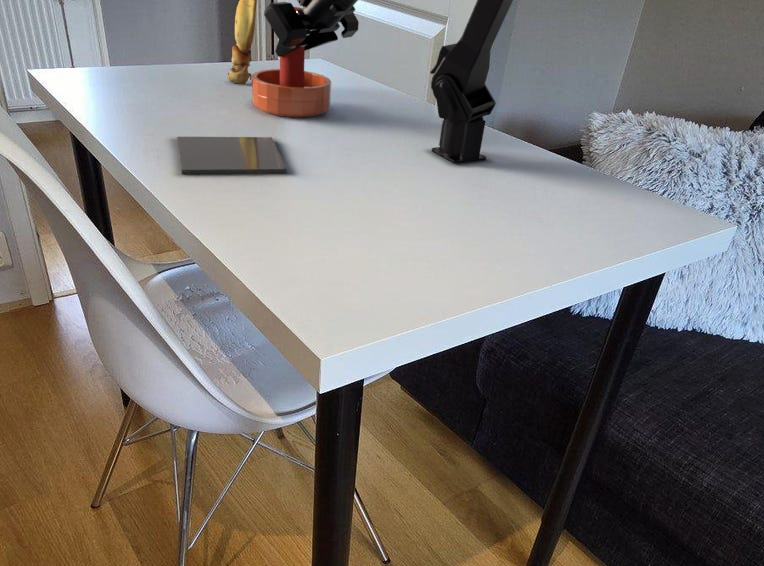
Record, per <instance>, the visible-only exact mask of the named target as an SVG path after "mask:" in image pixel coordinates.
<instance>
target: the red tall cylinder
mask: <svg viewBox="0 0 764 566" xmlns="http://www.w3.org/2000/svg"><path fill="white" fill-rule="evenodd" d="M293 7H294V9H295V10H296V11H297V10H303V9H304V8H303V7H297V6H293ZM305 52H306V51H305V46H304V47H302V48H299V49H297V50H295V51H292V52H290V53H288V54H285V55H283V56H281V57H279V69H280V86H287V87H304V71H305V56H306V55H305Z"/></svg>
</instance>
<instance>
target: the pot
mask: <svg viewBox="0 0 764 566" xmlns="http://www.w3.org/2000/svg"><path fill="white" fill-rule="evenodd" d="M251 76H252V77H251V98H252V100H251V101H252V104H253V106H255V107H256V108H257V109H259V110H261V111H263V112H265V113H267V114H271V115H274V116H280V117H288V118H311V117H317V116H320V115H322V114H325V112H328V111H329V110H330V108H331V99H332V97H331V94H332V81H331V79H330V78H329V77H327V76H325V75H323V74H320V73H316V72H314V71H313V72H312V71H307V70H304V87H287V86H280V68H269V69H262V70H259V71H256V72H254V73H253V74H251Z"/></svg>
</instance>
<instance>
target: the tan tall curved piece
mask: <svg viewBox="0 0 764 566" xmlns="http://www.w3.org/2000/svg"><path fill="white" fill-rule="evenodd" d="M257 3H258V0H239V1H238V4H237V6H236V10H235V18H234V39H235V42H236V44H233V45H232V48H231V52H232V54H231V55H232V57H230V59H231V63H232V67H231V68H229V70H230V71H229V72H227V75H228V76H227V79H228V81H229V83H234V84H238V85H245V84H246V83H247V82H248V80H249V81H252V73H250V72H249V67H250V66H251V61H252V58H251V52H252V50H251V47H252V44H253V41H254V35H255V29H256V12H257Z"/></svg>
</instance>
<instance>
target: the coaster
mask: <svg viewBox="0 0 764 566" xmlns="http://www.w3.org/2000/svg"><path fill="white" fill-rule="evenodd" d="M176 141H177V142H176V143H177V148H178V156H179V163H180V170H181V174H182V175H217V174H218V175H233V174H234V175H236V174H239V175H241V174H246V175H247V174H288V168H287V165H286V164H285V162H284V160H283V158H282V155H281V154H280V152H279V149H278V148H277V145H276V144H275V141H274V139H273V137H272V136H176Z"/></svg>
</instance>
